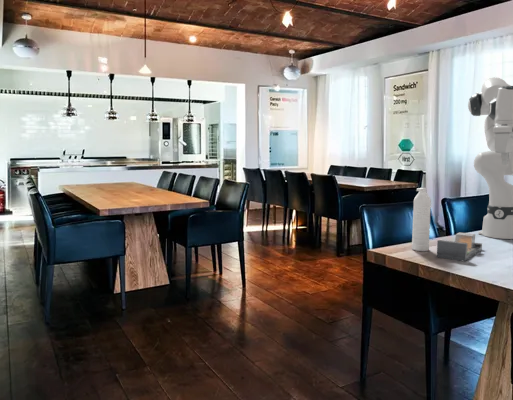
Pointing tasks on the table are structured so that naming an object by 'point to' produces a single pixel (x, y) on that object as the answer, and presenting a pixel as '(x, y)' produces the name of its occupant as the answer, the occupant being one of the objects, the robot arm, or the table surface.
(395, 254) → the table surface
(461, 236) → the tan block
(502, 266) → the table surface
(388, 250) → the table surface
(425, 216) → the water bottle
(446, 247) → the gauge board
